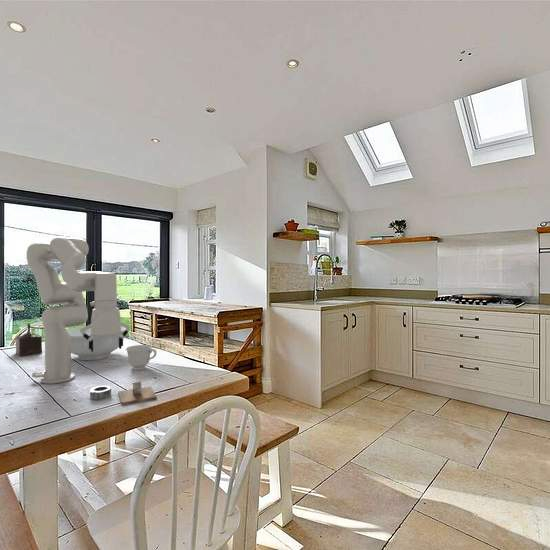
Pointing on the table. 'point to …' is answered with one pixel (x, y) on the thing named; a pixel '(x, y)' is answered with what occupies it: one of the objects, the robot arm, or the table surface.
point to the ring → (100, 392)
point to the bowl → (100, 344)
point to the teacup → (140, 356)
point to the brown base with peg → (136, 394)
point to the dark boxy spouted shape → (29, 343)
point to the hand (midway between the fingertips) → (106, 349)
